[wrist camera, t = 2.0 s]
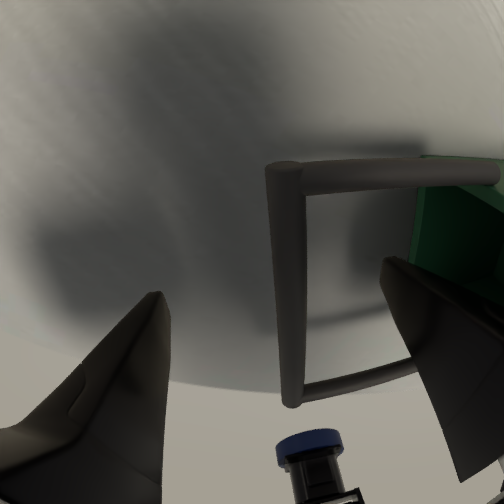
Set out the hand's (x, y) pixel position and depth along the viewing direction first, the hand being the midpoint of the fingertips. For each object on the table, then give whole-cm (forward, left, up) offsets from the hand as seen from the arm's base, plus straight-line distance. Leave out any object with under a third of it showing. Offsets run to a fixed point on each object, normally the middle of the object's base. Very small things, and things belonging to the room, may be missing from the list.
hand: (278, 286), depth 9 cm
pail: (0, -7, -2) cm, 7 cm away
